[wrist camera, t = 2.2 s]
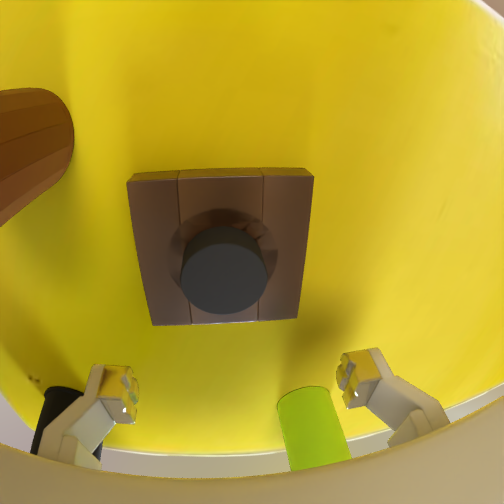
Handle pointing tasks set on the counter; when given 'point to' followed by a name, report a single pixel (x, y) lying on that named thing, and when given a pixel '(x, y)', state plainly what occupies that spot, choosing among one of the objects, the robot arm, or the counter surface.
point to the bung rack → (215, 215)
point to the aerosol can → (56, 413)
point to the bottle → (31, 146)
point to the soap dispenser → (311, 429)
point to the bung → (223, 271)
